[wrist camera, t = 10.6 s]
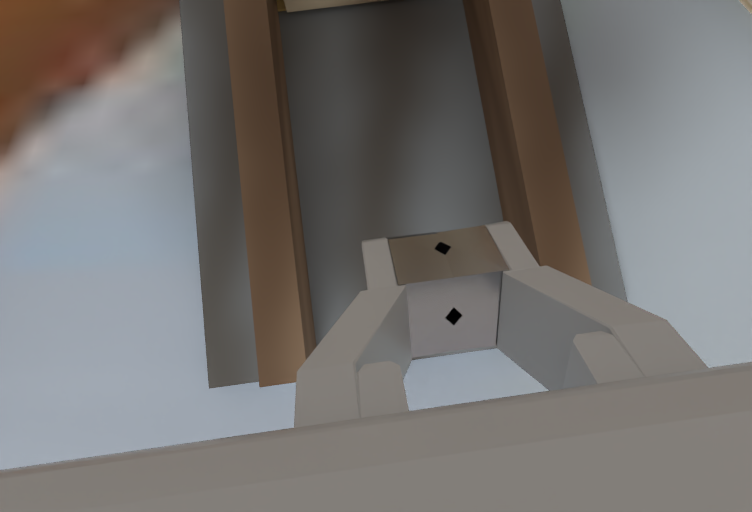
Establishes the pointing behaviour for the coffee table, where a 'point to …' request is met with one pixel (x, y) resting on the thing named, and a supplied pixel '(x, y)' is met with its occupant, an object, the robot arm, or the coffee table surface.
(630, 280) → the coffee table surface
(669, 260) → the coffee table surface
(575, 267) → the chute
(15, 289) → the coffee table surface
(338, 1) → the block
